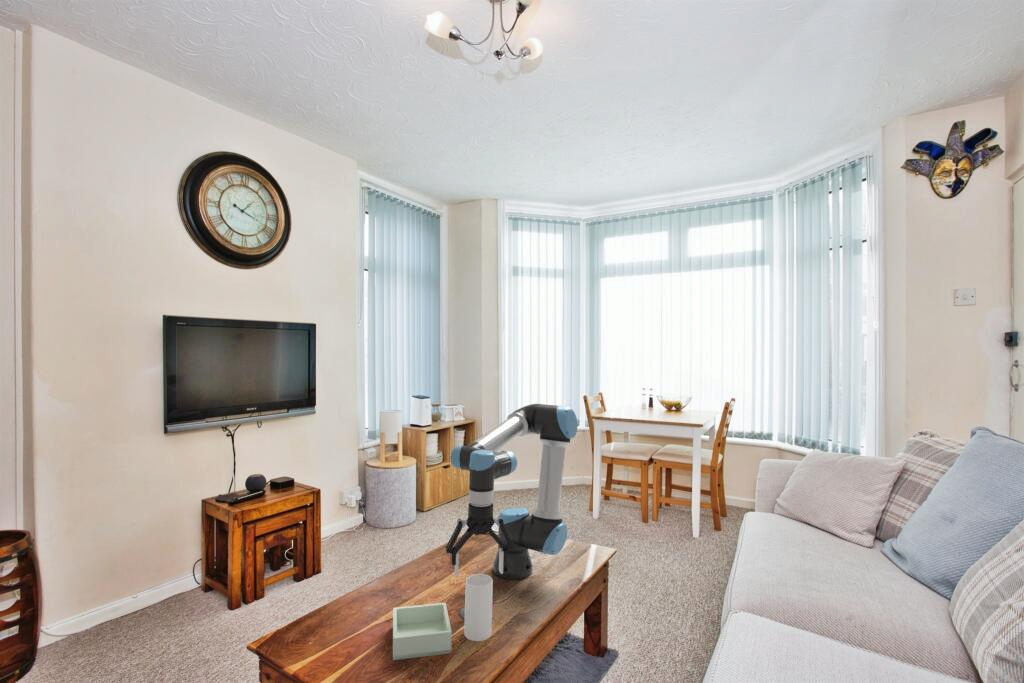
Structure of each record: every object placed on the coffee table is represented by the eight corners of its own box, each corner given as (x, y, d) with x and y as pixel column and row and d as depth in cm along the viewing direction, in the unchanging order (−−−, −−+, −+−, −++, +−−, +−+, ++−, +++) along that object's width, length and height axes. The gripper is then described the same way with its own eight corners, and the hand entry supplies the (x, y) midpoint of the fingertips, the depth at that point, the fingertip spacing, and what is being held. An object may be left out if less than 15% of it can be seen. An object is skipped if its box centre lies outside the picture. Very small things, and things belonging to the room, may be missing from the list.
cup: (494, 639, 147) (495, 585, 147) (467, 643, 144) (468, 588, 144) (487, 623, 154) (489, 572, 155) (461, 627, 152) (463, 575, 152)
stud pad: (482, 605, 165) (482, 604, 165) (486, 618, 157) (486, 617, 157) (458, 608, 163) (458, 606, 163) (461, 621, 155) (461, 619, 155)
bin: (445, 621, 155) (445, 602, 155) (451, 653, 139) (451, 631, 140) (392, 627, 151) (393, 607, 151) (392, 660, 136) (393, 638, 136)
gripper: (517, 497, 156) (515, 565, 156) (438, 500, 150) (436, 571, 150) (524, 504, 149) (522, 575, 148) (440, 508, 143) (438, 582, 143)
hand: (478, 573), depth 149 cm, fingers open, 13 cm apart
